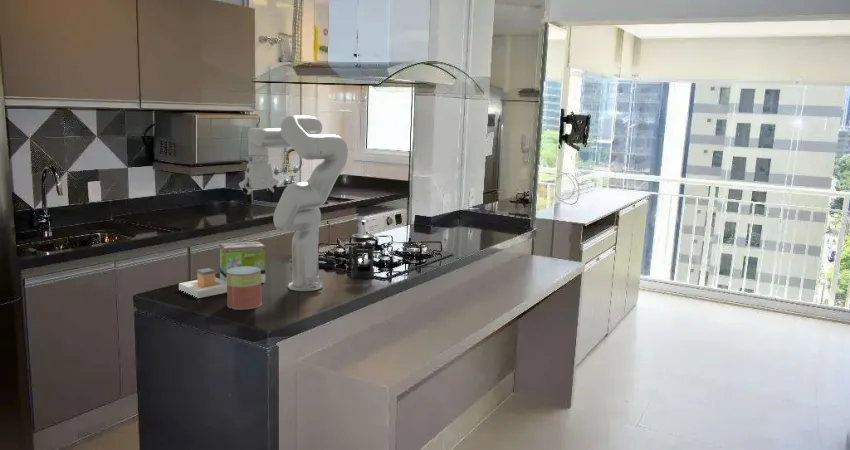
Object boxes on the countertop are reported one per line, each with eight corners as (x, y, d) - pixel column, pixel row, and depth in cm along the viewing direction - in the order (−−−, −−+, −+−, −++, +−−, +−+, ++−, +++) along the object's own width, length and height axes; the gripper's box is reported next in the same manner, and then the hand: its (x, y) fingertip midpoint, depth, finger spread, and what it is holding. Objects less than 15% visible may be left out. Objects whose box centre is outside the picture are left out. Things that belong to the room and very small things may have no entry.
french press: (380, 276, 260) (381, 220, 256) (366, 281, 252) (366, 223, 248) (357, 272, 266) (357, 216, 262) (342, 276, 258) (342, 219, 254)
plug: (216, 289, 235) (215, 270, 233) (203, 291, 231) (203, 272, 230) (209, 286, 238) (208, 267, 237) (197, 288, 234) (196, 270, 233)
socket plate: (234, 290, 235) (233, 282, 234) (197, 298, 225) (197, 289, 224) (214, 283, 244) (214, 275, 244) (179, 289, 234) (178, 281, 234)
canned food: (263, 299, 225) (263, 266, 223) (259, 309, 214) (258, 274, 212) (230, 299, 224) (229, 266, 222) (224, 309, 213) (223, 274, 211)
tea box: (226, 287, 239) (224, 248, 237) (220, 281, 248) (218, 243, 245) (266, 283, 246) (265, 245, 244) (259, 276, 255) (258, 240, 252)
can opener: (291, 268, 270) (291, 255, 269) (296, 264, 277) (295, 251, 276) (334, 270, 269) (334, 257, 268) (337, 266, 276) (337, 253, 275)
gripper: (244, 161, 245) (245, 206, 248) (282, 159, 258) (283, 202, 261) (233, 160, 250) (234, 203, 253) (272, 158, 263) (272, 200, 266)
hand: (259, 203), depth 257 cm, fingers open, 9 cm apart
